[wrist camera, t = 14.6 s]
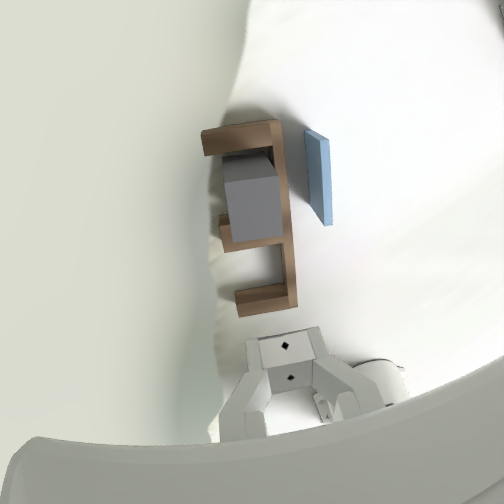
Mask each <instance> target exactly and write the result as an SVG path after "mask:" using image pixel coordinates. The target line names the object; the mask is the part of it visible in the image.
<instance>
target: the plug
mask: <svg viewBox="0 0 504 504" xmlns="http://www.w3.org/2000/svg"><path fill="white" fill-rule="evenodd" d="M222 163H223V179H224V188H225V194H226V201H227V207H228V213H229V220H230V226H231V232H232V238H233V243H236V242H243V241H249V240H256V239H263V238H270V237H277V236H283V225H282V211H281V198H280V186H279V175H278V174H277V172H276V171H275V169H274V167H273V166H272V164H271V163H270V161H269V159H268V158H267V156H266V155H265V153H264V152H256V153H248V154H241V155H234V156H227V157H222Z"/></svg>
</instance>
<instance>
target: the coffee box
mask: <svg viewBox="0 0 504 504" xmlns="http://www.w3.org/2000/svg"><path fill="white" fill-rule="evenodd" d="M500 9H501V12H502V15H503V18H504V5H500Z"/></svg>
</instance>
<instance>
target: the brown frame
mask: <svg viewBox="0 0 504 504" xmlns="http://www.w3.org/2000/svg"><path fill="white" fill-rule="evenodd" d="M304 134H305V145H306V157H307V169H308V182H309V197H310V206H311V207H312V209H313V210H314V212H315V213H316V215H317V216H318V218H319V219H320V221H321V222H322V223H323V225H324V226H329V225H333V224H332V187H331V164H330V147H329V139H327V138H325V137H323V136H322V135H320V134H318V133H316V132H315V131H313V130H308V131H304ZM201 140H202V145H203V150H204V155H205V156H210V155H216V154H221V153H227V152H233V151H239V150H245V149H251V148H258V147H265V146H269V151H270V158H271V164H272V166H273V167H274V169H275V171H276V172H277V174H278V175H279V186H280V198H281V211H282V225H283V236H277V237H270V238H263V239H256V240H249V241H243V242H236V243H233V238H232V232H231V226H230V220H229V214H226V215H221V216H219V229H220V234H221V239H222V243H223V248H224V253H227V252H233V251H239V250H245V249H250V248H256V247H262V246H268V245H273V244H279V243H280V245H281V255H282V265H283V275H284V283H280V284H274V285H269V286H263V287H257V288H252V289H246V290H240V291H235V299H236V307H237V311H238V315H239V317H245V316H251V315H257V314H262V313H268V312H274V311H279V310H284V309H290V308H295V307H298V303H297V288H296V273H295V259H294V247H293V234H292V223H291V211H290V200H289V190H288V180H287V170H286V161H285V152H284V143H283V134H282V125H281V122H280V121H278V120H277V119H271V120H264V121H256V122H249V123H243V124H236V125H230V126H224V127H219V128H213V129H208V130H203V131H202V132H201Z"/></svg>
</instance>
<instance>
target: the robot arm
mask: <svg viewBox="0 0 504 504" xmlns="http://www.w3.org/2000/svg"><path fill="white" fill-rule="evenodd" d="M258 342H259V343H258ZM245 348H246V356H247V364H248V372H245V373H244V375H243V377H242V378H241V380H240V382H239V383H238V385H237V386H236V388H235V390H234V391H233V393H232V395H231V396H230V398H229V399H228V401H227V403H226V404H225V406H224V407H223V409H222V410H221V412H220V414H219V431H220V443H209V444H196V445H174V446H128V445H107V444H93V443H82V442H73V441H65V440H58V439H51V438H45V437H33V438H32V439H30V440H29V441H28V442H26V444H24V445H23V446H22V447H21V448H20V449H19V450H18V451H17V452H16V453H15V454H14V455H13V457H12V458H11V460H10V463H9V465H8V468H7V471H6V475H5V478H4V482H3V486H2V491H1V496H0V504H504V355H503V356H501V357H499V358H498V359H496V360H494V361H492V362H490V363H488V364H487V365H485V366H483V367H481V368H479V369H477V370H475V371H473V372H471V373H469V374H467V375H465V376H462V377H460V378H458V379H456V380H454V381H452V382H449V383H447V384H445V385H443V386H440V387H438V388H436V389H433V390H431V391H428V392H426V393H423V394H421V395H418V396H416V397H413V398H411V397H410V394H409V392H408V389H407V386H406V384H405V381H404V378H405V376H406V374H407V372H406V370H405V368H400V367H397V366H395V364H394V363H392V362H390V361H386V360H378V361H371V362H367V363H364V364H361V365H358V366H356V367H354V368H352V367H351V366H349V365H347V364H346V363H344V362H343V361H341V360H340V359H338V358H337V357H335V356H334V355H332V356H330V355H329V352H328V349H327V347H326V344H325V341H324V339H323V336H322V333H321V331H320V328H319V327H318V326H317V327H313V328H308V329H303V330H298V331H293V332H289V333H284V334H280V335H274V336H267V337H261V338H255V339H249V340H245ZM311 386H312V387H313V388H314V389H315V390H316V391H317V393H316V394H314V396H313V398H314V400H315V403H316V405H317V408H318V410H319V413H320V415H321V418H322V421H323V423H324V425H322V426H317V427H313V428H309V429H304V430H299V431H294V432H289V433H284V434H278V435H273V436H269V435H268V431H267V427H266V423H265V419H264V415H263V414H264V411H265V409H266V407H267V405H268V403H269V400H270V398H271V396H272V394H275V393H280V392H285V391H289V390H295V389H300V388H306V387H311Z"/></svg>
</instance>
